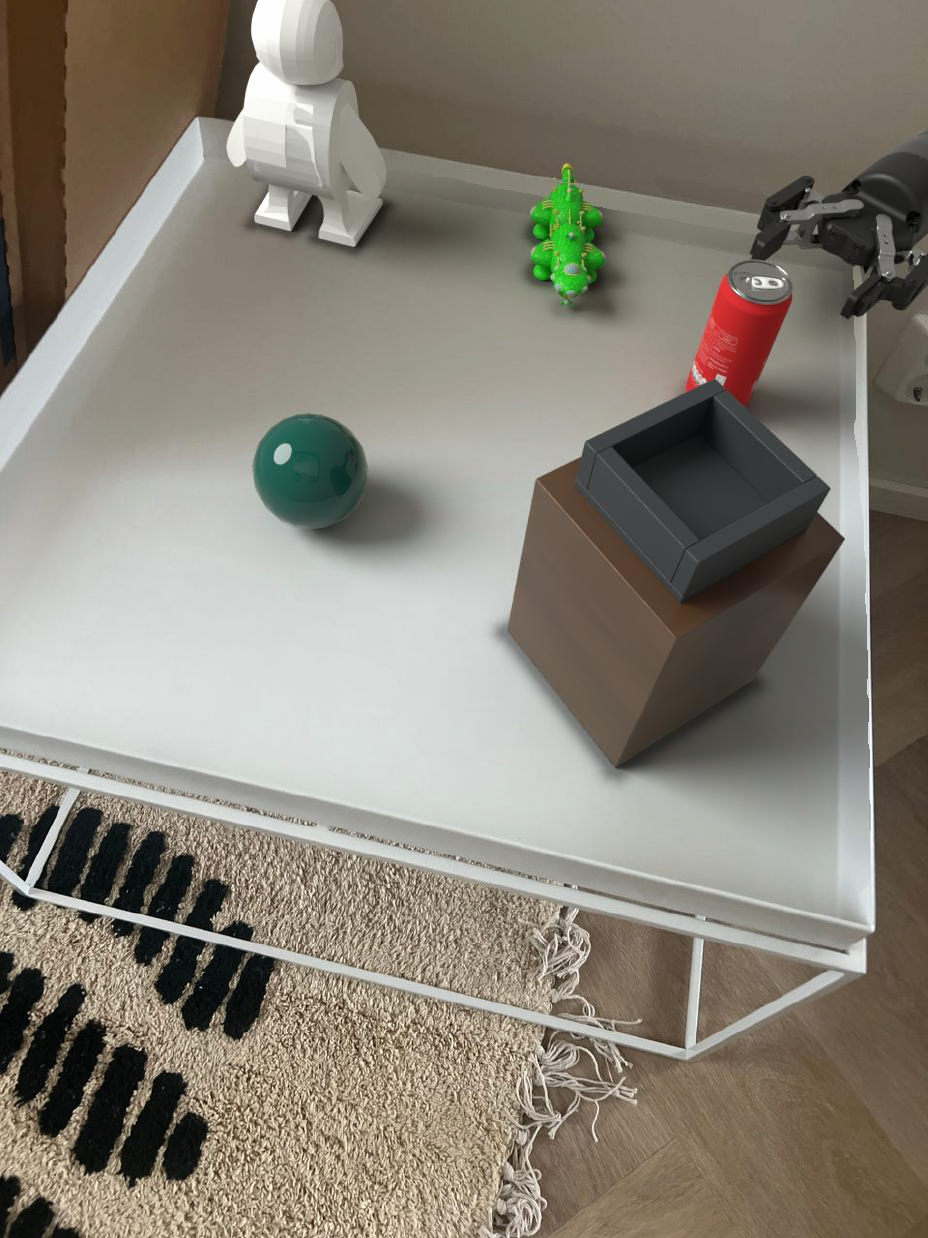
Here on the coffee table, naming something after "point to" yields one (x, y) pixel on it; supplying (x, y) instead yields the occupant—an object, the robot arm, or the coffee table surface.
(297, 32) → the toy robot
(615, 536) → the stand
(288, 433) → the sphere
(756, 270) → the beverage can
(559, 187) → the crocodile figurine
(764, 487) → the socket
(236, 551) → the coffee table surface
